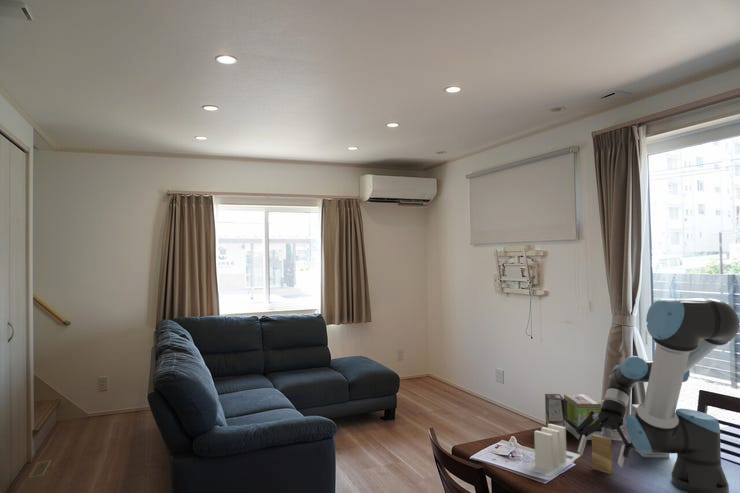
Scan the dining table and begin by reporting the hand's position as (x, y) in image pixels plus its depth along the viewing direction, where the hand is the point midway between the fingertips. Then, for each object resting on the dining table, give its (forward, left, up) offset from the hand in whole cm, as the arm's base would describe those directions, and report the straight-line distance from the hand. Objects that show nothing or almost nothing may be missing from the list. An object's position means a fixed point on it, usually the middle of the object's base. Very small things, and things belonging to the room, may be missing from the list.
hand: (599, 459), depth 163 cm
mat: (+15, -3, -5) cm, 16 cm away
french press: (-5, -42, -5) cm, 43 cm away
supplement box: (-17, -28, -5) cm, 33 cm away
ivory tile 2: (+16, -1, -4) cm, 16 cm away
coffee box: (+17, -32, -5) cm, 37 cm away
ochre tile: (-1, -2, -5) cm, 6 cm away
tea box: (+7, -39, -5) cm, 40 cm away
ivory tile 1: (+14, -6, -4) cm, 16 cm away
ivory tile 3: (+17, +4, -4) cm, 18 cm away
